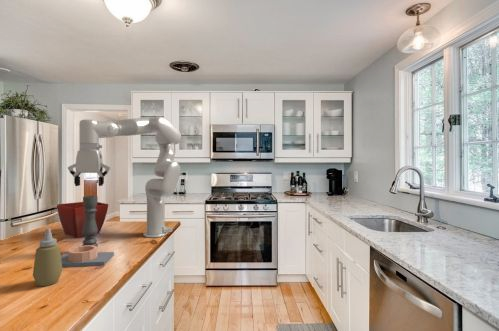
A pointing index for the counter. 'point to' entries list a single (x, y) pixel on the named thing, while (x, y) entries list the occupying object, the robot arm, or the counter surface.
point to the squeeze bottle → (47, 261)
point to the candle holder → (90, 220)
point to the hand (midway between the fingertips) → (89, 185)
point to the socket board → (88, 263)
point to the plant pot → (79, 217)
